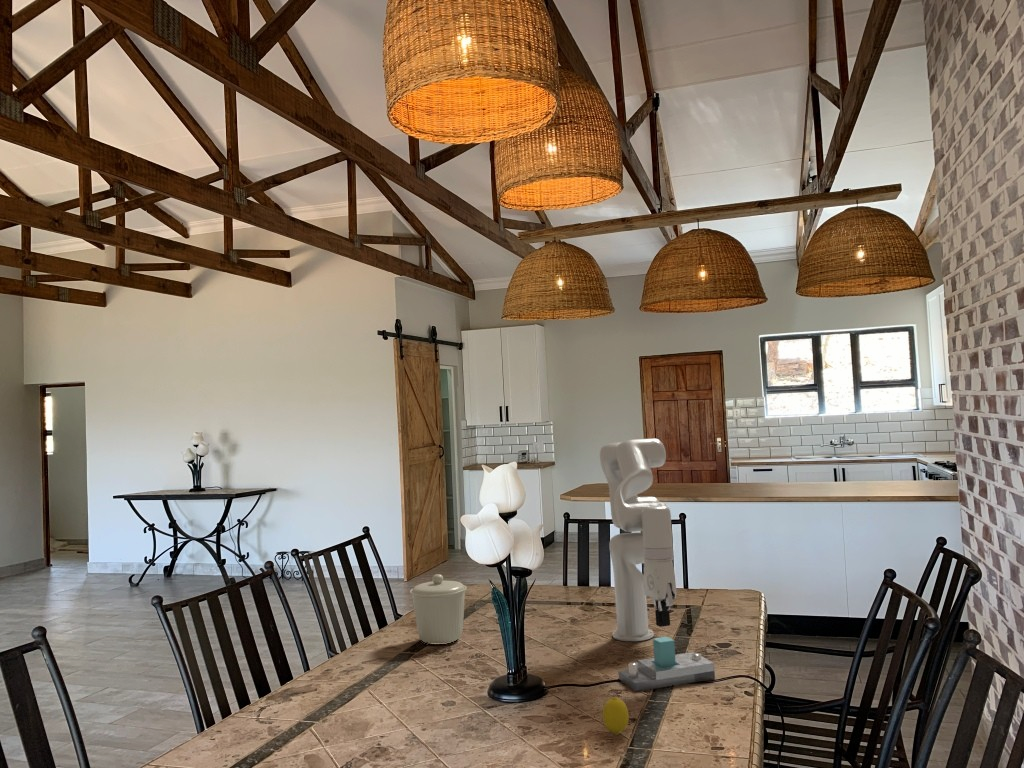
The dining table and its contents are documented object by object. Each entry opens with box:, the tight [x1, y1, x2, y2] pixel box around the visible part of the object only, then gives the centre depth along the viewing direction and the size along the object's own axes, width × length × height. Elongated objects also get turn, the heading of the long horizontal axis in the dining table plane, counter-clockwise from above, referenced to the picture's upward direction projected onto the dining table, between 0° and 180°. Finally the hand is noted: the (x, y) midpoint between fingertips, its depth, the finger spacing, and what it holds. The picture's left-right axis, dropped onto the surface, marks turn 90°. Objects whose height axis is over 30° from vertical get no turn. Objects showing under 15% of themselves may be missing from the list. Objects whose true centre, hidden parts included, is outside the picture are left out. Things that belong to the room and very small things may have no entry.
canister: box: [409, 573, 468, 643], centre depth 253 cm, size 18×18×21 cm
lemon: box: [602, 696, 630, 736], centre depth 171 cm, size 6×6×8 cm
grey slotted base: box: [617, 651, 716, 692], centre depth 205 cm, size 11×22×5 cm, turn 106°
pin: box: [652, 636, 676, 668], centre depth 205 cm, size 4×4×10 cm
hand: (663, 625), depth 205 cm, fingers closed
